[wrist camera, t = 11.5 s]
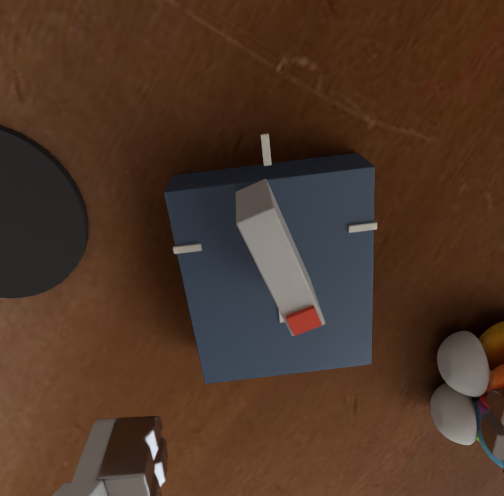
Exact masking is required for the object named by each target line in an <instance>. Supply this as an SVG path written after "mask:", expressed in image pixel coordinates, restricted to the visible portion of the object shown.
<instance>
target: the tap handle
mask: <svg viewBox="0 0 504 496" xmlns="http://www.w3.org/2000/svg"><path fill="white" fill-rule="evenodd" d="M236 225H237V227H238V229H239V231H240V233H241V235H242V237H243V239H244V241H245V243H246V245H247V247H248V249H249V251H250V253H251V255H252V257H253V259H254V261H255V263H256V265H257V267H258V269H259V271H260V273H261V275H262V277H263V279H264V281H265V283H266V285H267V287H268V289H269V291H270V293H271V295H272V297H273V299H274V301H275V303H276V305H277V307H278V309H279V311H280V313H281V315H282V317H283V319H284V321H285V323H286V325H287V327H288V329H289V331H290V333H291V335H292V336H296V335H298V334H301V333H304V332H306V331H309V330H312V329H314V328H317V327H320V326H322V325H324V324H325V320H324V317H323V315H322V312H321V309H320V306H319V303H318V300H317V297H316V294H315V291H314V288H313V285H312V283H311V280H310V277H309V275H308V273H307V270H306V268H305V266H304V263H303V261H302V259H301V257H300V254H299V252H298V250H297V247H296V245H295V243H294V241H293V238H292V236H291V234H290V231H289V229H288V227H287V225H286V222H285V220H284V218H283V215H282V213H281V211H280V209H279V206H278V204H277V202H276V199H275V197H274V195H273V193H272V190H271V188H270V186H269V183H268V181H267V179H264V180H261V181H259V182H257V183H255V184H252V185H250V186H248V187H246V188H243V189H241V190H239V191H236Z"/></svg>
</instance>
